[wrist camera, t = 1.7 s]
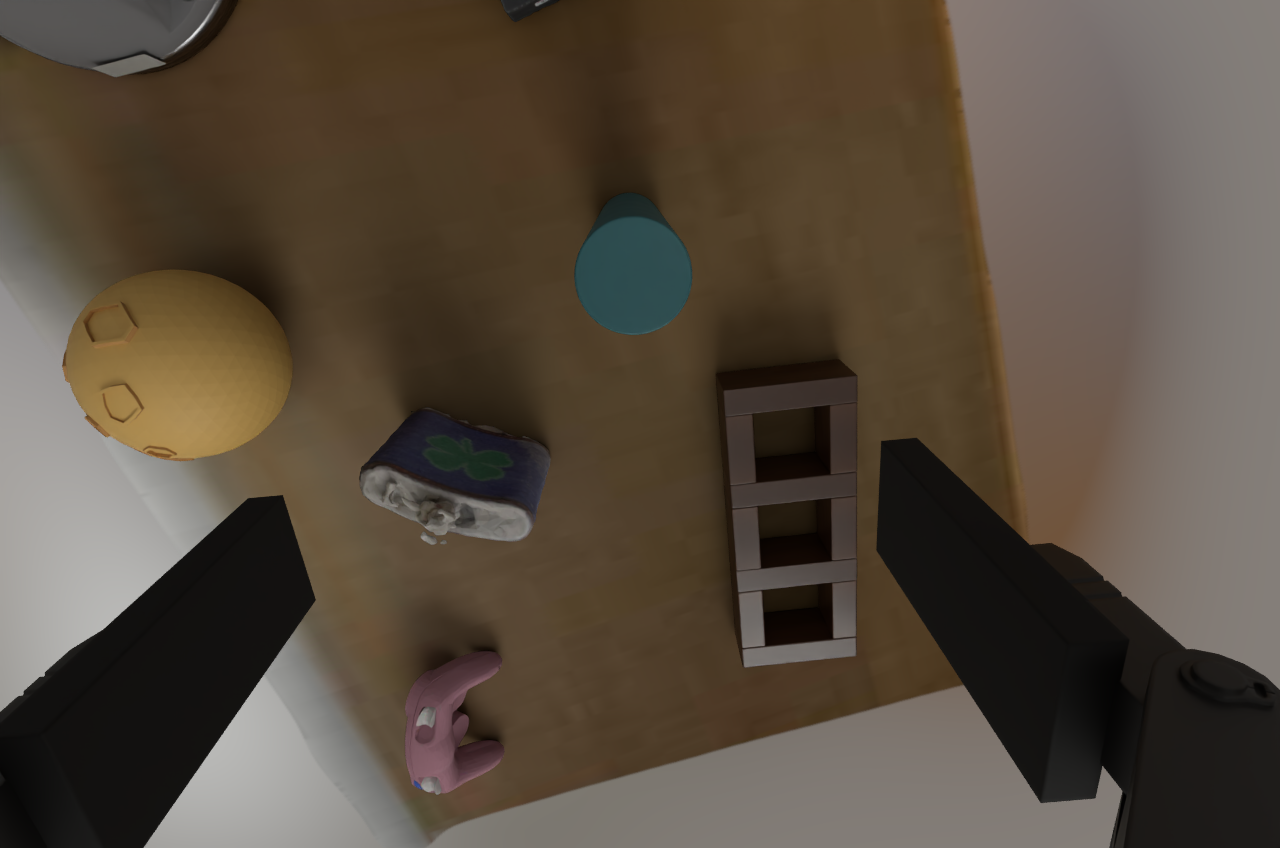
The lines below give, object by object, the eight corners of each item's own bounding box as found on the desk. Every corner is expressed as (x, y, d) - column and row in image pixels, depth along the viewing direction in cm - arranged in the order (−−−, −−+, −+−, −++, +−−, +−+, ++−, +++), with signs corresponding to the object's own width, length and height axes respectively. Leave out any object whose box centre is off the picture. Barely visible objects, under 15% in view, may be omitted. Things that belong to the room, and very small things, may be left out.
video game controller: (456, 629, 50) (384, 690, 44) (508, 650, 48) (440, 716, 42) (462, 733, 53) (396, 803, 47) (510, 756, 51) (448, 831, 45)
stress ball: (253, 227, 38) (131, 247, 29) (355, 377, 41) (275, 439, 32) (113, 306, 39) (-46, 349, 30) (222, 445, 43) (109, 524, 33)
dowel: (594, 196, 38) (566, 223, 20) (658, 188, 38) (687, 208, 20) (602, 262, 39) (583, 341, 21) (664, 254, 39) (697, 328, 21)
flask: (556, 444, 43) (534, 529, 33) (542, 484, 44) (517, 578, 34) (412, 399, 42) (343, 473, 32) (402, 441, 43) (332, 526, 33)
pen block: (715, 372, 42) (723, 390, 38) (839, 358, 41) (857, 375, 38) (735, 634, 49) (743, 668, 45) (841, 623, 48) (856, 656, 45)
